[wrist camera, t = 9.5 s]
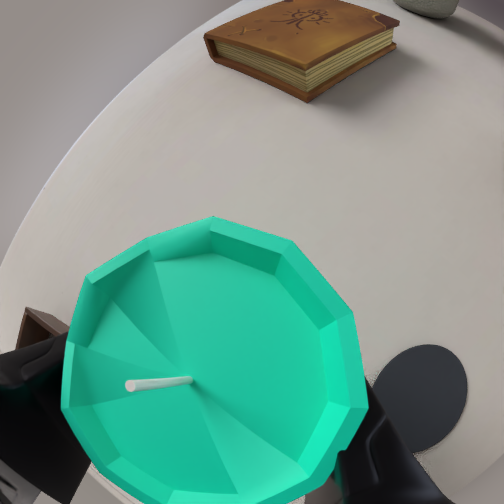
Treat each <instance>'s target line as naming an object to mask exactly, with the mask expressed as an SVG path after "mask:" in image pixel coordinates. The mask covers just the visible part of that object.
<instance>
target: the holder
mask: <svg viewBox="0 0 504 504" xmlns="http://www.w3.org/2000/svg"><path fill="white" fill-rule="evenodd" d="M69 328H70V327H69V326H67V325H66V324H64V323H63V322H61V321H60V320H58V319H57V318H56V317H54V316H53V315H51V314H47V313H44V312H41V311H38V310H35V309H32V308H29V307H26V308H25V312H24V315H23V319H22V323H21V327H20V331H19V335H18V339H17V344H16V349H15V350H17V349H21V348H24V347H27V346H30V345H33V344H36V343H39V342H42V341H44V340H47V339H48V337H49V333H51V334H53V335H54V336H56V337H57V335H60V334H62V333H65V332H68V331H69Z"/></svg>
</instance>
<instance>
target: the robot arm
mask: <svg viewBox="0 0 504 504" xmlns="http://www.w3.org/2000/svg"><path fill="white" fill-rule="evenodd" d="M68 332H69V331H68ZM68 332H65V333H62V334H60V335H57V337H56V336H55V337H52V338H50V339H47V340H44V341H42V342H39V343H36V344H33V345H30V346H27V347H24V348H21V349H17V350H14V351H10V352H7V353H4V354H0V504H33V502H34V501H35V500H36V498H37V496H38V495H39V494H40V492H41V491H43V492H44V493H45V494H47V495H49V496H50V497H52V498H53V499H55V500H56V501H58V502H60V503H62V504H70V502H71V500H72V498H73V496H74V494H75V492H76V490H77V488H78V486H79V485H80V483H81V481H82V479H83V477H84V475H85V473H86V471H87V469H88V468H89V466H90V464H91V460H90V458H89V457H88V455H87V454H86V452H85V450H84V449H83V447H82V446H81V444H80V442H79V441H78V439H77V438H76V436H75V434H74V432H73V431H72V429H71V427H70V425H69V424H68V422H67V420H66V418H65V416H64V414H63V413H62V411H61V390H62V376H63V365H64V356H65V347H66V340H67V336H68ZM364 377H365V376H364ZM365 383H366V391H367V398H368V406H369V409H368V411H367V412H366V414H365V416H364V418H363V420H362V422H361V424H360V426H359V428H358V429H357V431H356V433H355V435H354V437H353V438H352V440H351V442H350V444H349V445H348V447H347V449H346V450H341V451H339V452H338V454H337V458H336V463H335V467H334V470H333V471H332V473H331V474H330V476H329V477H328V479H327V480H326V481H325V483H324V484H323V485H322V486H320V487H319V488H317V489H315V490H313V491H311V492H309V493H307V494H305V504H455V503H453V502H452V501H451V500H449V499H448V498H447V497H446V496H445V495H444V494H443V493H442V492H441V491H440V490H439V488H438V487H437V486H436V484H435V483H434V482H433V481H432V479H431V478H430V477H429V475H428V474H427V473H426V471H425V470H424V469H423V467H422V466H421V465H420V463H419V462H418V461H417V459H416V458H415V457H414V455H413V454H412V452H411V451H410V450H409V448H408V447H407V445H406V444H405V443H404V441H403V439H402V438H401V436H400V435H399V433H398V431H397V430H396V428H395V426H394V425H393V423H392V421H391V420H390V418H389V417H387V416H388V415H387V413H386V411H385V409H384V408H383V406H382V404H381V403H380V401H379V399H378V398H377V396H376V394H375V393H374V391H373V389H372V388H371V386H370V384H369V382H368V381H367V379H366V378H365Z"/></svg>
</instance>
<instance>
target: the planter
mask: <svg viewBox="0 0 504 504" xmlns="http://www.w3.org/2000/svg"><path fill="white" fill-rule="evenodd" d="M393 1H394V2H395V3H397V4H398V5H399V6H401V7H403V8H405V9H407V10H410V11H412V12H415V13H417V14H420V15H423V16H427V17H431V18H445V17H448V16H450V15H452V14H453V13H454V12H455V10H456V7H457V5H458V2H459V0H393Z"/></svg>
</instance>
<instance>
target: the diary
mask: <svg viewBox="0 0 504 504" xmlns="http://www.w3.org/2000/svg"><path fill="white" fill-rule="evenodd" d="M399 23H400V21H399V20H396V19H394V18H391V17H389V16H386V15H383V14H381V13H378V12H375V11H372V10H369V9H366V8H363V7H360V6H357V5H354V4H350V3H347V2H343V1H340V0H284V1H281V2H278V3H275V4H272V5H269V6H267V7H264V8H261V9H259V10H256V11H253V12H251V13H248V14H246V15H243V16H241V17H239V18H236V19H234V20H232V21H230V22H227V23H225V24H223V25H221V26H219V27H217V28H215V29H213V30H210V31H208V32H207V33H205V34H204V37H203V38H204V41H205V44H206V46H207V49H208V52H209V55H210V57H211V58H212V59H213V61H214V62H216V63H219V64H222V65H224V66H227V67H229V68H232V69H235V70H237V71H240V72H242V73H244V74H247V75H249V76H252V77H254V78H256V79H258V80H261V81H263V82H265V83H267V84H270V85H272V86H274V87H276V88H278V89H280V90H282V91H284V92H286V93H288V94H290V95H292V96H294V97H296V98H298V99H300V100H302V101H304V102H306V103H308V102H309V101H311V100H312V99H314V98H315V97H317V96H318V95H320V94H321V93H323V92H324V91H326V90H327V89H329V88H330V87H332V86H333V85H335V84H337V83H338V82H340V81H341V80H343V79H344V78H346V77H348V76H349V75H351V74H352V73H354V72H356V71H357V70H359V69H361V68H362V67H364V66H366V65H367V64H369V63H371V62H372V61H374V60H376V59H378V58H379V57H381V56H383V55H385V54H386V53H388V52H390V51H392V50H394V49H395V48H396V45H397V44H396V43H394V42H392V37H393V29H394V27H397V26H399Z"/></svg>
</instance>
